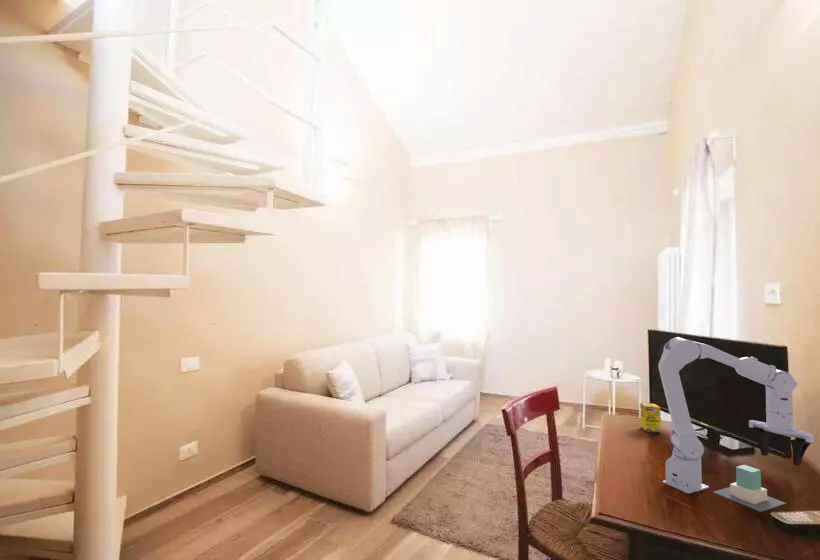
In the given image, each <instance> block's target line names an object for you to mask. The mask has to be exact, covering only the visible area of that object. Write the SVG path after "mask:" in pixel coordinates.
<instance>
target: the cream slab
mask: <svg viewBox="0 0 820 560" xmlns="http://www.w3.org/2000/svg"><path fill="white" fill-rule="evenodd" d="M729 487H730V495H733V496H735V497H738V498H740V499H743V500H745V501H748V502H750V503H753V504H757V503H760V502H763V501H766V500H767V496H768V489H767V488H765V487H762V486H761V488H760V489H757V490H753V491H752V490H749V489H747V488H744V487H741V486H739V485H736V481H735V482H731V483H729Z"/></svg>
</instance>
